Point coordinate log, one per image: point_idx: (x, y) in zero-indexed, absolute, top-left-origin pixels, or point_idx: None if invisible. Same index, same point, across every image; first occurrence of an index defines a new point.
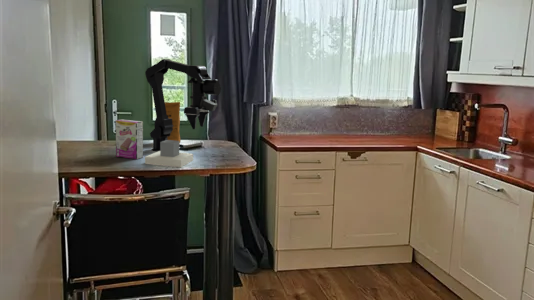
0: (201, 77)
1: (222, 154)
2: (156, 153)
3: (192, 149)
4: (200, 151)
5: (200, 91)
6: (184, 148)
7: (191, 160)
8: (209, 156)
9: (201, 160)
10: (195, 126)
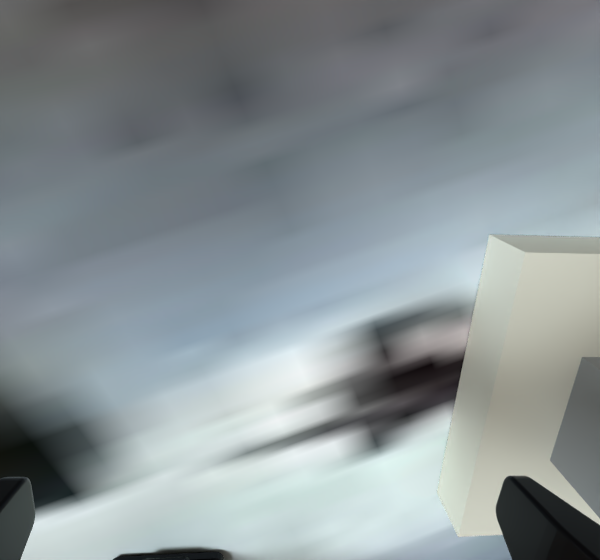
0: None
1: (77, 19)
2: None
3: (3, 408)
4: (53, 310)
5: None
6: None
7: (536, 238)
8: (257, 143)
9: (469, 163)
10: (562, 517)
